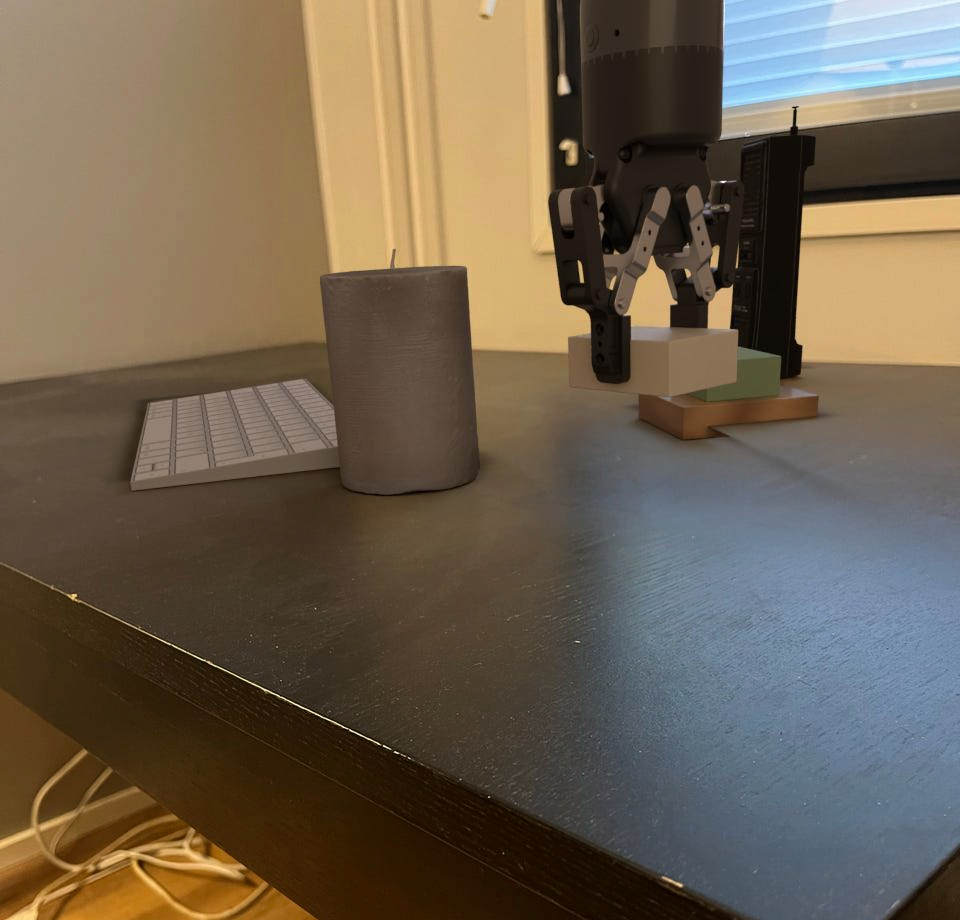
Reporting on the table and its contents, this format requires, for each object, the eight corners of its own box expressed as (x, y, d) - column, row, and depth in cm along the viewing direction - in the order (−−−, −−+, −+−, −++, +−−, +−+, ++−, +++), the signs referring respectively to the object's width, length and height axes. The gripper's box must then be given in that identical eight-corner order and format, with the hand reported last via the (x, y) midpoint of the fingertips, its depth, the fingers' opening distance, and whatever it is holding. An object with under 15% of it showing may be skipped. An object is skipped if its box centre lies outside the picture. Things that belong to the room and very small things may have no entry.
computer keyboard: (149, 408, 109) (146, 392, 108) (317, 392, 113) (315, 377, 112) (114, 492, 70) (110, 469, 70) (372, 464, 74) (370, 442, 74)
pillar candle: (401, 459, 75) (383, 248, 69) (507, 470, 70) (496, 242, 64) (311, 488, 68) (282, 255, 62) (421, 502, 62) (400, 248, 57)
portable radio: (720, 372, 109) (728, 118, 99) (773, 368, 109) (786, 114, 100) (745, 381, 101) (757, 108, 92) (802, 377, 102) (819, 104, 92)
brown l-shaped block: (757, 406, 87) (759, 377, 86) (817, 427, 77) (819, 395, 76) (638, 417, 86) (638, 388, 85) (682, 440, 76) (683, 407, 75)
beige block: (635, 374, 64) (635, 325, 63) (737, 382, 58) (738, 329, 57) (568, 387, 60) (567, 336, 59) (669, 397, 54) (669, 341, 53)
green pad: (737, 382, 84) (739, 346, 83) (779, 395, 77) (781, 356, 76) (670, 388, 84) (671, 352, 82) (706, 402, 76) (707, 362, 75)
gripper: (608, 30, 46) (614, 398, 52) (792, 46, 54) (777, 362, 60) (503, 58, 51) (520, 388, 58) (684, 68, 59) (681, 356, 66)
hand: (651, 373), depth 59 cm, fingers closed on beige block, 6 cm apart
